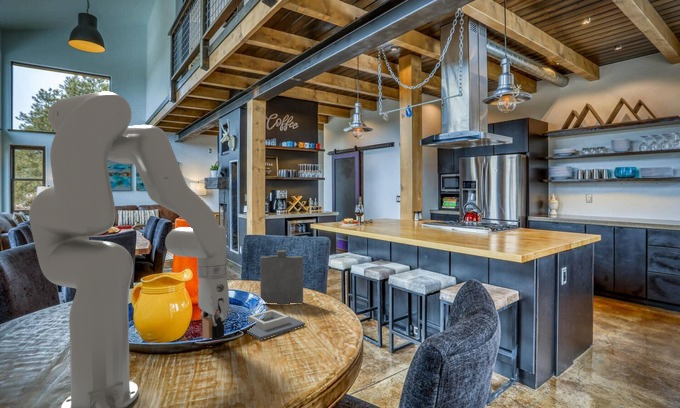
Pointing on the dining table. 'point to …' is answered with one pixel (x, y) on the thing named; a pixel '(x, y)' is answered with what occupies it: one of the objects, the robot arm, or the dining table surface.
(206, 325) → the connector plug
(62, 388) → the dining table surface
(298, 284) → the hip flask
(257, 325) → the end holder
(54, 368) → the dining table surface
